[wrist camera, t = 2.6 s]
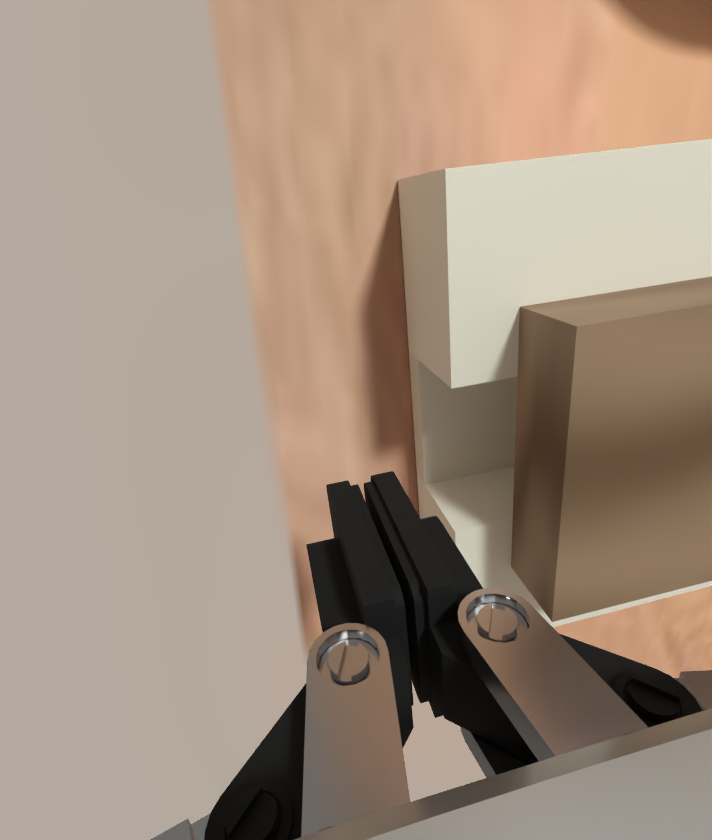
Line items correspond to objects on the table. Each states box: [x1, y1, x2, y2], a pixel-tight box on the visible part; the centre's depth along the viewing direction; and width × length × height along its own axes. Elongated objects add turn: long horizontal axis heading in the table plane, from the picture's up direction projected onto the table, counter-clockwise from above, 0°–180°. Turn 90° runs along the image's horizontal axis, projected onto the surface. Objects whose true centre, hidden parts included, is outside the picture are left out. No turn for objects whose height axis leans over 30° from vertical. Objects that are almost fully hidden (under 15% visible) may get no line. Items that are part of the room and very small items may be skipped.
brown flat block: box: [511, 276, 712, 622], centre depth 14 cm, size 9×6×2 cm, turn 6°
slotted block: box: [398, 139, 712, 627], centre depth 17 cm, size 16×12×4 cm
